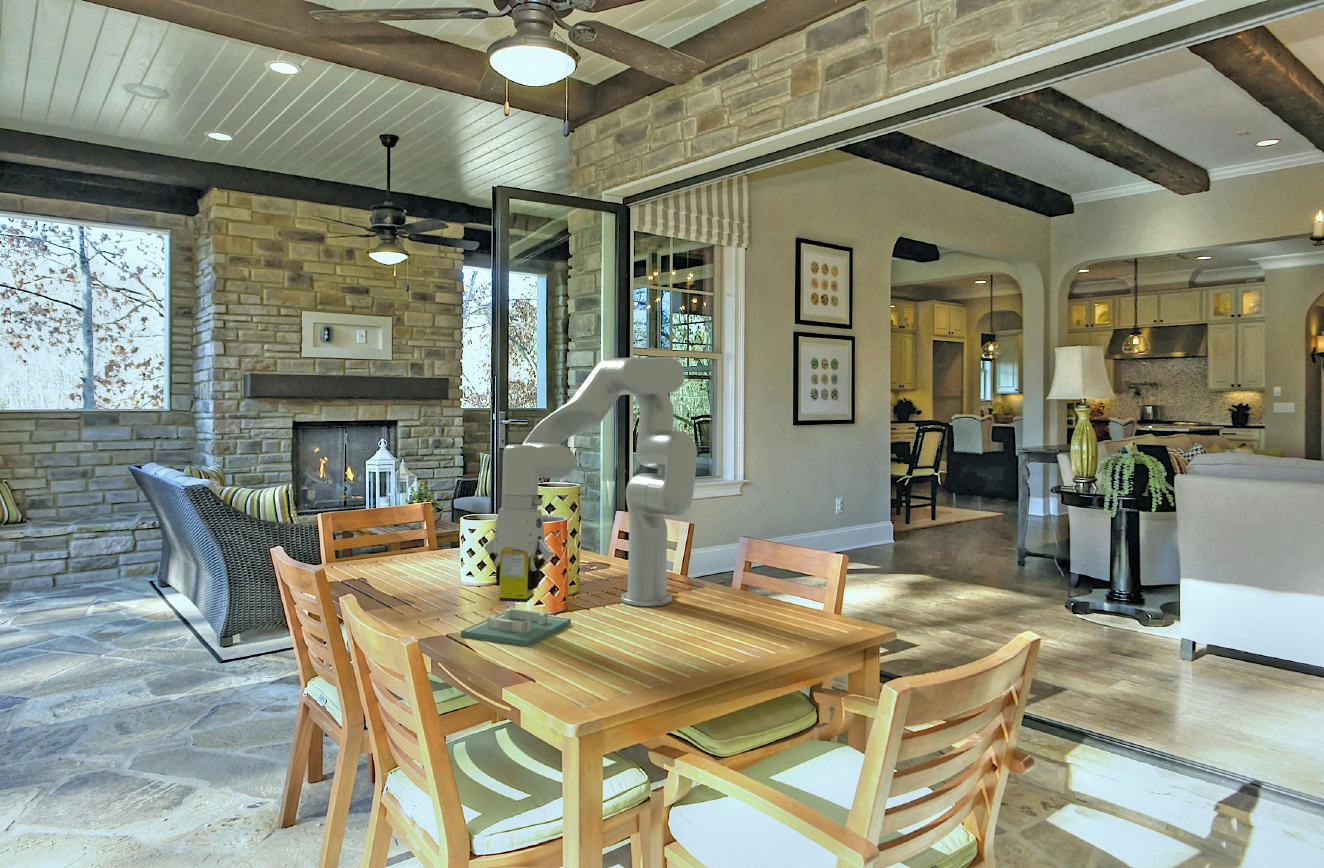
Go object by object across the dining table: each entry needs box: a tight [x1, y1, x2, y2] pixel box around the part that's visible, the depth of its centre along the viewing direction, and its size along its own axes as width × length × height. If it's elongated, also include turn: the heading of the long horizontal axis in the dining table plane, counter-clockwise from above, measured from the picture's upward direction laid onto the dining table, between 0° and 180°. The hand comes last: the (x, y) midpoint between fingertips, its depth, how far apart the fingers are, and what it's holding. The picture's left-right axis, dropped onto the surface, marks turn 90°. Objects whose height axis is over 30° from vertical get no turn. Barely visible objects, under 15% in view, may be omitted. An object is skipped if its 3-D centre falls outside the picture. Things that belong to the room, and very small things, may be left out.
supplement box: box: [498, 549, 535, 603], centre depth 169 cm, size 6×6×11 cm
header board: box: [460, 607, 572, 648], centre depth 170 cm, size 18×16×3 cm
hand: (517, 585), depth 170 cm, fingers closed on supplement box, 7 cm apart
